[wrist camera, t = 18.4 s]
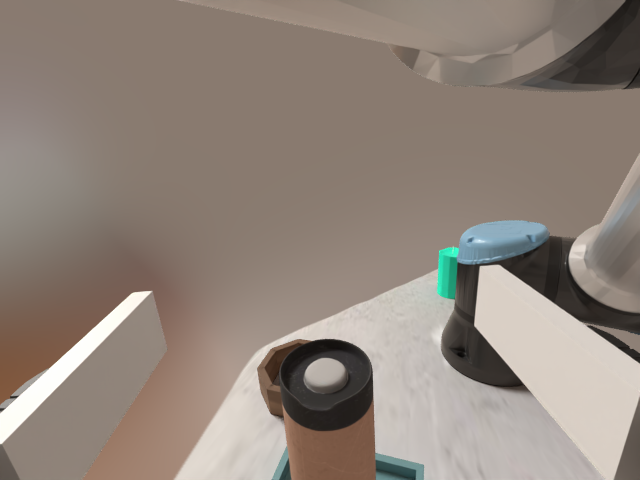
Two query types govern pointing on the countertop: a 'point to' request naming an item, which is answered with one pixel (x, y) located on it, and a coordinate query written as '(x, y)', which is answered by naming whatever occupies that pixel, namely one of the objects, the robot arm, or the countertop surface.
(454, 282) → the candle
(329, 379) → the travel mug
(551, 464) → the countertop surface
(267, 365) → the walnut collar
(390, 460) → the slate tray
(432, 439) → the countertop surface
